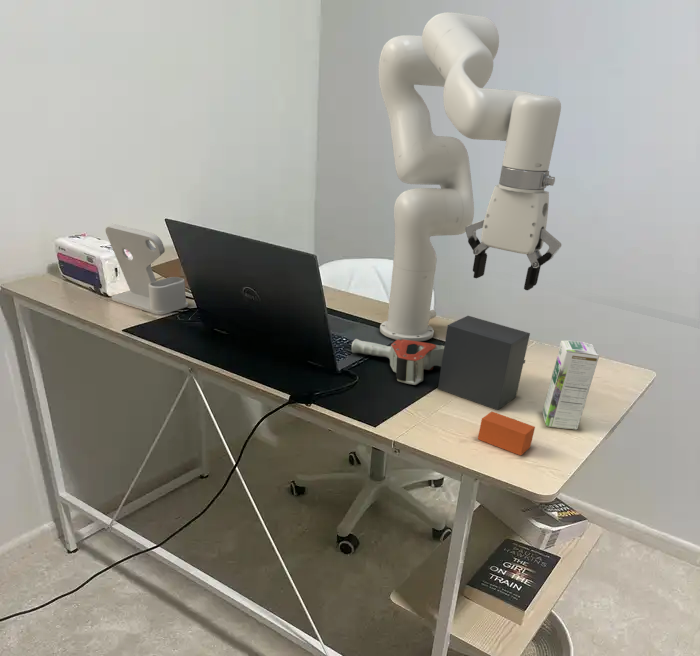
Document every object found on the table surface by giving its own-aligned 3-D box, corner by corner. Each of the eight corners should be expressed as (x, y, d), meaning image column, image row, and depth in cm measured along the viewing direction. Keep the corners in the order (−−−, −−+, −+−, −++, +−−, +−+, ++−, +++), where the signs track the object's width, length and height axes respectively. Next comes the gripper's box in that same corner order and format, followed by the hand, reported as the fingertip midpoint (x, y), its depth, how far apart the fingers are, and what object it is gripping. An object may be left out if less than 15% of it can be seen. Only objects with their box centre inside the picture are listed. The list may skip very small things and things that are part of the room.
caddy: (437, 388, 129) (473, 367, 139) (497, 410, 123) (530, 386, 133) (447, 324, 122) (484, 307, 133) (511, 344, 116) (545, 324, 126)
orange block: (487, 431, 115) (491, 411, 113) (530, 447, 111) (535, 426, 109) (477, 439, 112) (481, 418, 110) (520, 455, 109) (525, 434, 106)
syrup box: (541, 412, 123) (559, 338, 115) (573, 416, 123) (593, 342, 115) (545, 427, 118) (565, 350, 111) (579, 430, 118) (600, 354, 110)
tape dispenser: (347, 356, 144) (374, 389, 127) (347, 332, 141) (375, 363, 124) (422, 349, 148) (459, 381, 131) (424, 326, 146) (461, 355, 129)
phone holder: (191, 305, 161) (187, 229, 151) (161, 316, 153) (154, 235, 144) (140, 290, 168) (132, 216, 158) (108, 299, 160) (99, 222, 151)
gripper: (580, 185, 108) (556, 289, 117) (484, 170, 116) (468, 268, 125) (566, 190, 103) (541, 298, 112) (465, 174, 111) (450, 276, 120)
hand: (503, 282), depth 118 cm, fingers open, 9 cm apart
